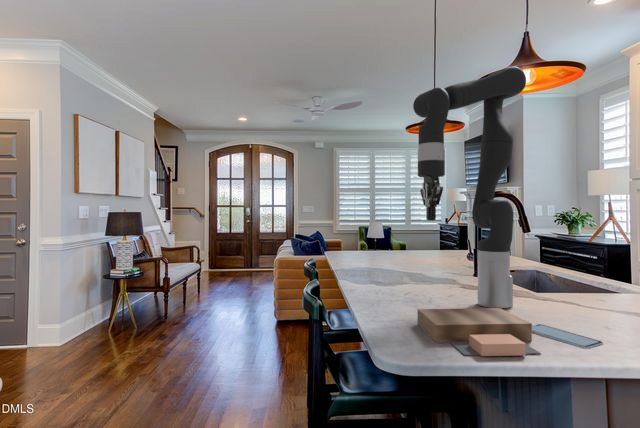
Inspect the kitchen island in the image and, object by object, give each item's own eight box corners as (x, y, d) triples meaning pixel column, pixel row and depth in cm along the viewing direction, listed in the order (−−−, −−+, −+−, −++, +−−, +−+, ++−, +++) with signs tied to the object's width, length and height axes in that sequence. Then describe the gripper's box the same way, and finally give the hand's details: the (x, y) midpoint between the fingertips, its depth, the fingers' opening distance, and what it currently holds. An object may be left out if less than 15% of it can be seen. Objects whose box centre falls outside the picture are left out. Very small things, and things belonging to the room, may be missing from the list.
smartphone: (586, 347, 81) (521, 327, 95) (586, 351, 81) (521, 331, 95) (605, 342, 85) (540, 323, 98) (605, 346, 85) (540, 327, 98)
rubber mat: (520, 342, 86) (520, 340, 86) (540, 354, 78) (540, 353, 78) (450, 343, 85) (450, 341, 85) (464, 355, 78) (464, 354, 78)
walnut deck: (499, 323, 100) (499, 308, 100) (531, 341, 86) (531, 323, 86) (417, 324, 99) (417, 309, 99) (436, 342, 85) (436, 324, 85)
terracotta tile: (525, 343, 77) (525, 355, 77) (509, 334, 83) (509, 345, 83) (482, 344, 77) (482, 356, 77) (469, 334, 83) (469, 345, 83)
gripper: (452, 157, 103) (452, 220, 103) (435, 163, 116) (435, 219, 116) (425, 156, 103) (425, 220, 103) (411, 163, 116) (411, 220, 116)
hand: (431, 220), depth 110 cm, fingers closed
